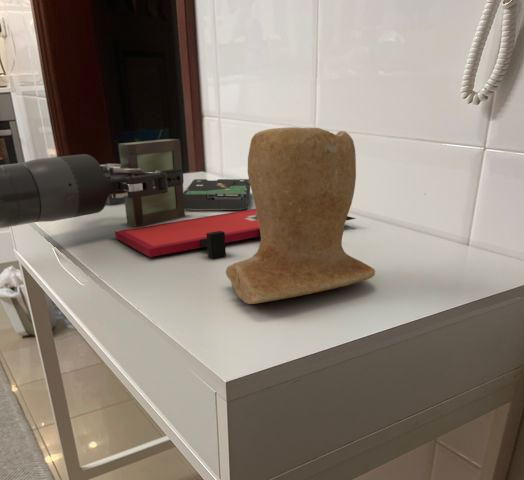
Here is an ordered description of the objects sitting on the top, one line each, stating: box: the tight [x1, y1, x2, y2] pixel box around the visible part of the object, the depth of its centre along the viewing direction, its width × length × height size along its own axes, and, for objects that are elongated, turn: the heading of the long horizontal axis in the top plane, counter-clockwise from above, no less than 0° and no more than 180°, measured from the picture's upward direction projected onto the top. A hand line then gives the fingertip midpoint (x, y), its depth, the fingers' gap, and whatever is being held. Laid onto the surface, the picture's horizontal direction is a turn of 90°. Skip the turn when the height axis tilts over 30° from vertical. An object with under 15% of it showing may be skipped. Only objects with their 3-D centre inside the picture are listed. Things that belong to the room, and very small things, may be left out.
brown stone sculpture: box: [225, 126, 376, 305], centre depth 53 cm, size 15×12×15 cm
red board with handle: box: [114, 208, 357, 260], centre depth 74 cm, size 30×3×15 cm
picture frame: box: [117, 138, 186, 228], centre depth 80 cm, size 9×2×11 cm, turn 137°
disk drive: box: [183, 178, 251, 211], centre depth 94 cm, size 10×3×15 cm
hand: (163, 173), depth 81 cm, fingers open, 8 cm apart
